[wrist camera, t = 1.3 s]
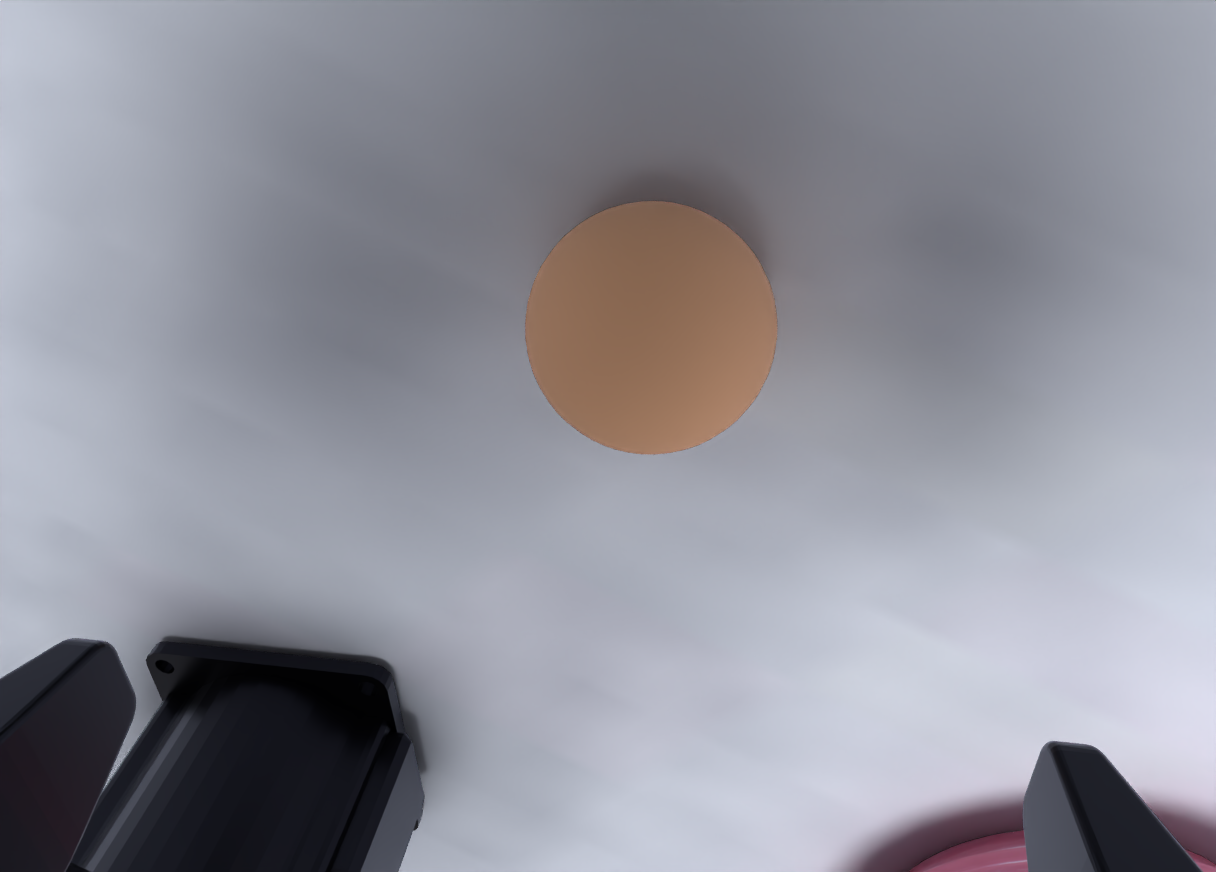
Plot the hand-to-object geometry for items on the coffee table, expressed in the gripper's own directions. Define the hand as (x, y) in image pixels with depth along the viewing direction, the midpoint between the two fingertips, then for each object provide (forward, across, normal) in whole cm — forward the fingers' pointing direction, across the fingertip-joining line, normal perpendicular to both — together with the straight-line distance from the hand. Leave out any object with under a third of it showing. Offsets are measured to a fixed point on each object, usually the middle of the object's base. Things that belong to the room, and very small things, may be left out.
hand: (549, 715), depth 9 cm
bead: (+10, 0, 0) cm, 10 cm away
